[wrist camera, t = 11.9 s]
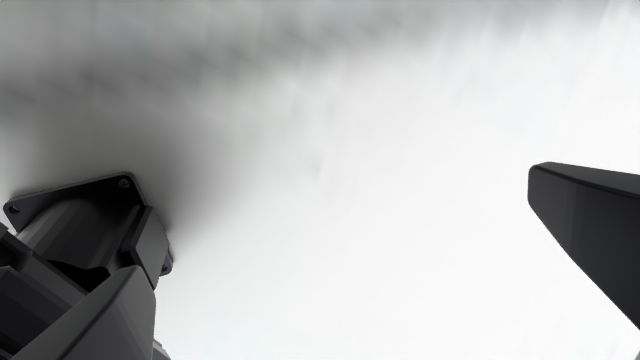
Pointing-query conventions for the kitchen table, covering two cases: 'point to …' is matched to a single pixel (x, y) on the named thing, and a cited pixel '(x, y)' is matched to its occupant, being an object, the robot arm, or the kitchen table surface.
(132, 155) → the kitchen table surface
